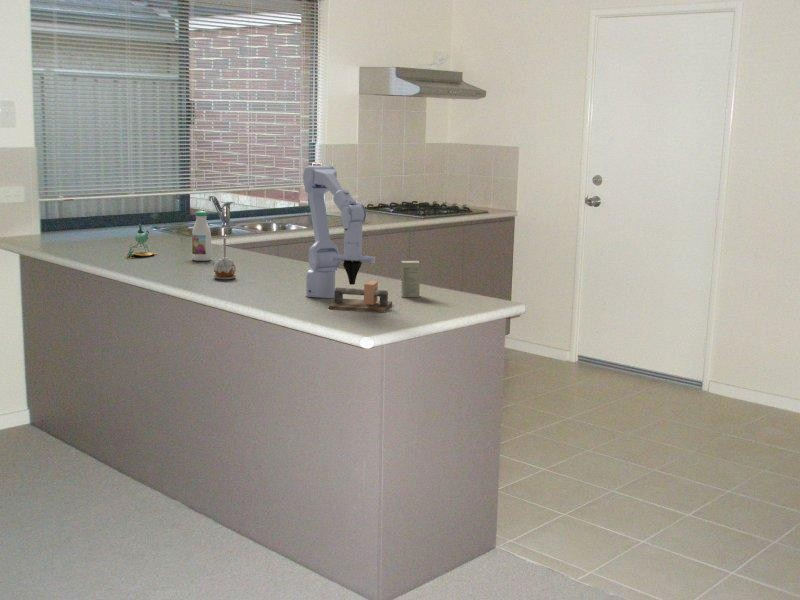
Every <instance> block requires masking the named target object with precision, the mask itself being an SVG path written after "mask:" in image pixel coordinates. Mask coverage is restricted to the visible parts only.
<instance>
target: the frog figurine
mask: <svg viewBox="0 0 800 600" xmlns="http://www.w3.org/2000/svg"><path fill="white" fill-rule="evenodd" d="M138 228H139V229H138V231H137V233H136V234H135V242H136V243H137V244H136V245H132V244H129V245H128V247H130V249H129V251H128V252H126V253H125V255H126V256H127V257H125V259H126V260H132V259H135V258H136V257H135V256H141V257H150V256H154V255H158V253H157V252H156V253H155V252H151V251H150V250H149V247H148V245H147V244H146V242H147V241H148V240H149V234H150V232H149V230H146V233H145V232H144V231H143V229H142V224H141V223H138ZM138 245H139V247H140V248H142V246H143V248H144V249H147V251H146V250H144V251H137V252H134V249H136V248H138ZM132 248H133V249H132Z"/></svg>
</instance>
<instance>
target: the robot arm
mask: <svg viewBox="0 0 800 600" xmlns="http://www.w3.org/2000/svg"><path fill="white" fill-rule="evenodd" d="M337 175H338V173H337V169H336V168H335V166H334V165H306V167H305V168H304V170H303V174H302V180H303V186H304V191H305V192H306V193H307V194H308V201H309V210H310V215H311V221H312V228H313V229H312V230H313V236H314V243H313V244H312V245H311V246H310V247H309V249H308V264H309V267H310V269H309V270H307V273H306V283H305V284H306V289H305V290H306V293H305V294H306V295H305V297H309V298H320V299H321V298H322V299H334V291H335V288H336V271H338V268H339V267H340V266H341V263H342V262H343V264H342V266H343V268H344V270H345V272H346V275H347V279H348V282H349V283H348V285H349V286H350V285H352V286H354V285H355V284H356V280H357V277H358V273H359V271H360V269H361V266H362V264H365V263H366V264H373V265H374V264H375V263H376V256H371V255H370V256H369V255H362V254H363V253H362V252H363V251H362V250H363V249H362V248H363V223H364V222H365V220H366V218H367V210H366V207H365V205H364V204H363V203H358V202H357V201H356V199H354V197H353V196H352V195H351V193H350V192H349V191H348V190H347V189H344V188H343V187H342V186H341V184H340V182H339V180H338V178H337V177H338V176H337ZM327 192H330V194H332V195H333V202H334V204H335V205H336V206H337V208H338V210H339V211H340V219H341V221H342V228H344V229H343V230H344V231H343V232H344V233H343V254H340V252H339V247H338V245H337V244H335V243H334V242H333V241H332V240H331V237H330V231H329V230H330V228H329V222H328V215H327V209H326V203H325V194H326V193H327Z"/></svg>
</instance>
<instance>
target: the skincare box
mask: <svg viewBox="0 0 800 600" xmlns="http://www.w3.org/2000/svg"><path fill="white" fill-rule="evenodd" d="M420 264H421V263H420V261H419V260H401V298H420V290H421V289H420V288H421V287H420V275H421V274H420V273H421V272H420V267H421V265H420Z"/></svg>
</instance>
